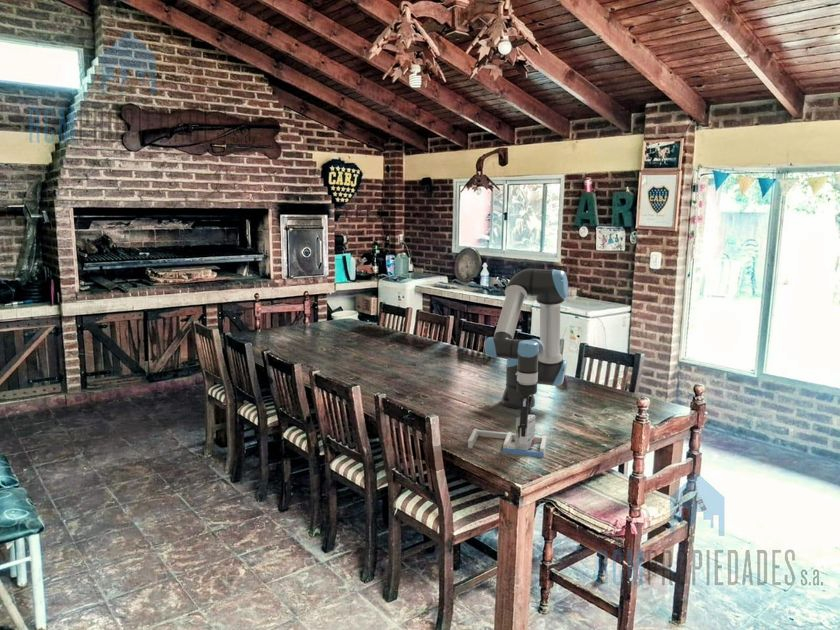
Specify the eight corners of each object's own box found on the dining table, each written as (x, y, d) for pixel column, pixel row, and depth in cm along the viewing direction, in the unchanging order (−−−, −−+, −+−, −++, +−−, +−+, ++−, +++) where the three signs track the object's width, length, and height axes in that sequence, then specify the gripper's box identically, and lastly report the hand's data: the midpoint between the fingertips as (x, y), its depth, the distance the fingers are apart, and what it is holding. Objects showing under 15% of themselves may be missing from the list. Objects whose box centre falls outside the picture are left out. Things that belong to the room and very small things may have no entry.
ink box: (522, 442, 247) (524, 412, 246) (534, 445, 245) (536, 414, 244) (514, 448, 240) (515, 417, 239) (526, 450, 238) (528, 419, 236)
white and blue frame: (475, 434, 258) (475, 427, 258) (546, 441, 251) (547, 434, 250) (467, 448, 244) (467, 441, 243) (543, 457, 236) (543, 449, 236)
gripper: (520, 372, 250) (518, 426, 254) (512, 390, 227) (510, 448, 232) (540, 374, 248) (538, 428, 252) (534, 392, 226) (531, 451, 230)
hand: (524, 438), depth 242 cm, fingers open, 11 cm apart
